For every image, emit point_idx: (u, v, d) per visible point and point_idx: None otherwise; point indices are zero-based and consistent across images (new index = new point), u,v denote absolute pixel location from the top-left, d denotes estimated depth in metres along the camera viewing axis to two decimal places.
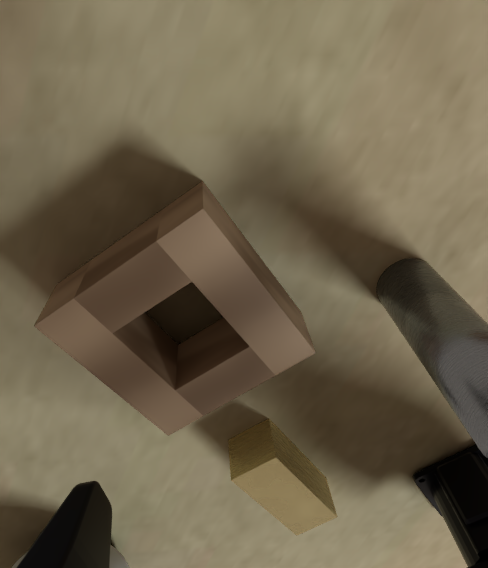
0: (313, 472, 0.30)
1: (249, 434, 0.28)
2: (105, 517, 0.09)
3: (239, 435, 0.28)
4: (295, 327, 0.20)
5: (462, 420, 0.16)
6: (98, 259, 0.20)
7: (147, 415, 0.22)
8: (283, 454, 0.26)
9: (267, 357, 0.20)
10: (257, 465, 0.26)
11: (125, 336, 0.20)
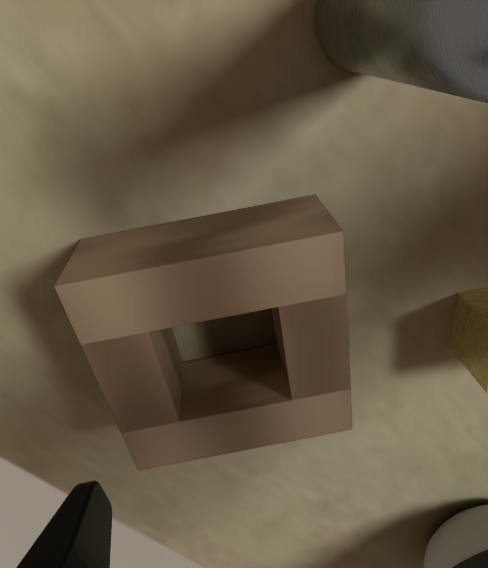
0: None
1: (458, 326, 0.20)
2: (105, 517, 0.09)
3: (453, 335, 0.20)
4: (282, 243, 0.13)
5: None
6: None
7: (308, 435, 0.18)
8: None
9: (309, 293, 0.14)
10: None
11: (198, 408, 0.17)
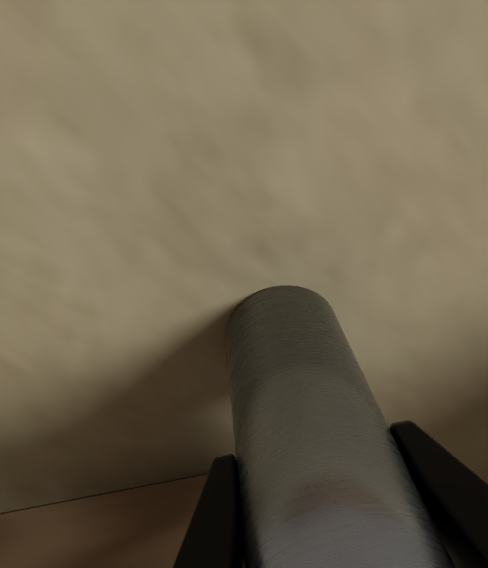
0: None
1: None
2: None
3: None
4: None
5: None
6: None
7: None
8: None
9: None
10: None
11: None
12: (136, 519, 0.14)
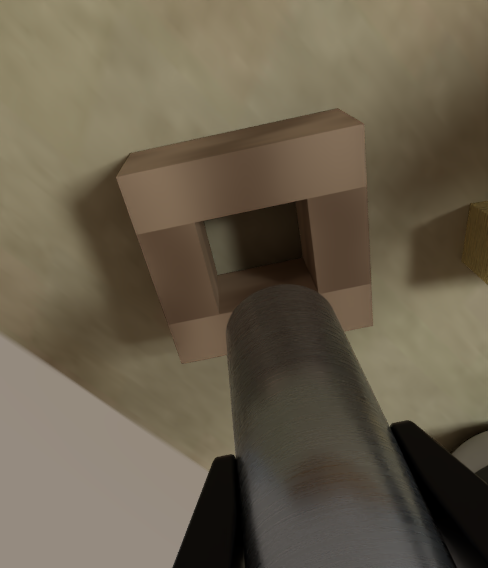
0: None
1: (470, 236, 0.21)
2: None
3: (465, 246, 0.22)
4: (311, 135, 0.15)
5: None
6: None
7: None
8: None
9: (334, 185, 0.16)
10: None
11: (235, 304, 0.19)
12: (251, 133, 0.17)
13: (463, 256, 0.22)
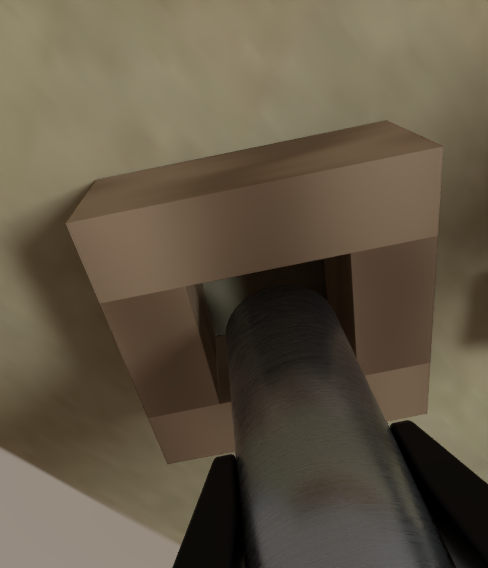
0: None
1: None
2: None
3: None
4: (362, 163, 0.10)
5: None
6: None
7: None
8: None
9: (391, 234, 0.11)
10: None
11: None
12: (267, 155, 0.12)
13: None
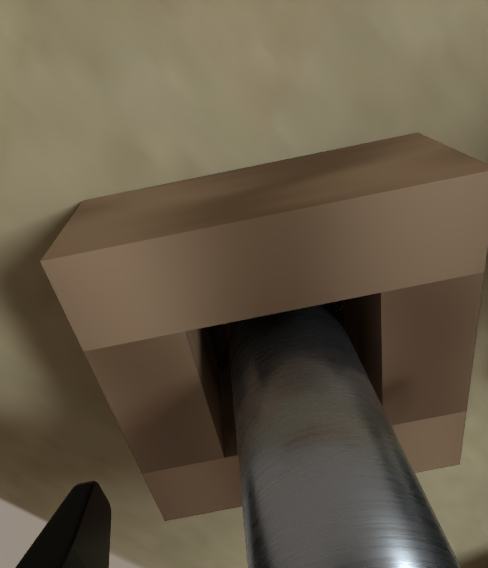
0: None
1: None
2: (104, 517, 0.09)
3: None
4: (399, 189, 0.08)
5: None
6: None
7: None
8: None
9: (430, 271, 0.09)
10: None
11: None
12: (281, 174, 0.10)
13: None
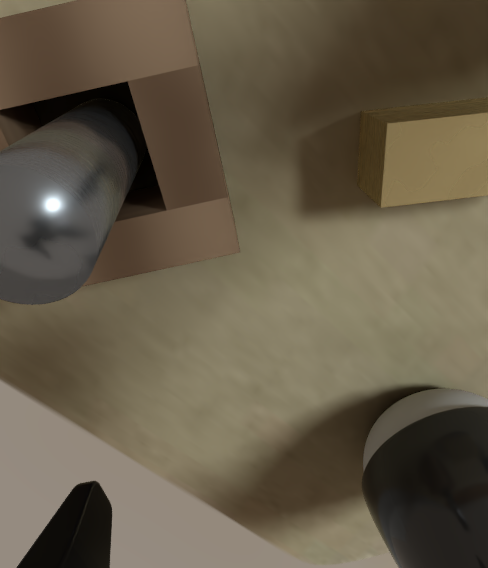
0: None
1: (362, 151, 0.18)
2: (105, 517, 0.09)
3: (359, 166, 0.19)
4: None
5: None
6: None
7: (193, 258, 0.17)
8: (408, 115, 0.16)
9: (158, 63, 0.13)
10: (383, 159, 0.16)
11: None
12: None
13: (358, 178, 0.19)
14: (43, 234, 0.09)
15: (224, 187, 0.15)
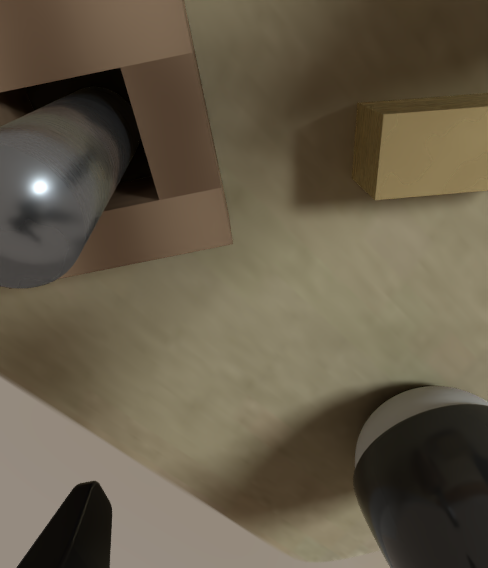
0: None
1: (357, 143, 0.18)
2: (105, 517, 0.09)
3: (354, 159, 0.19)
4: None
5: None
6: None
7: (186, 249, 0.17)
8: (404, 108, 0.16)
9: (151, 49, 0.13)
10: (379, 150, 0.16)
11: None
12: None
13: (353, 171, 0.19)
14: (29, 216, 0.09)
15: (217, 177, 0.15)
